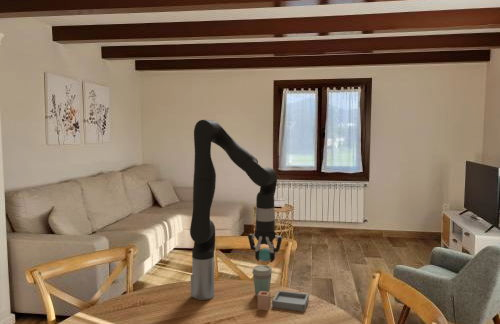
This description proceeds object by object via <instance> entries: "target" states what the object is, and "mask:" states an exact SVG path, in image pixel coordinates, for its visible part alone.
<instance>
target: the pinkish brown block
mask: <svg viewBox="0 0 500 324" xmlns="http://www.w3.org/2000/svg"><path fill="white" fill-rule="evenodd" d="M270 308H271V291H269V292H266V291H260V292H259V294H258V297H257V310H258V311H266V312H267V311H269V310H270Z"/></svg>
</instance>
